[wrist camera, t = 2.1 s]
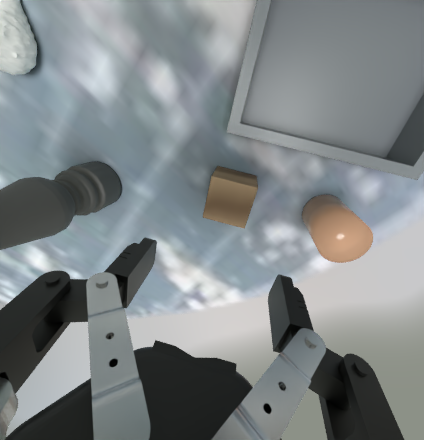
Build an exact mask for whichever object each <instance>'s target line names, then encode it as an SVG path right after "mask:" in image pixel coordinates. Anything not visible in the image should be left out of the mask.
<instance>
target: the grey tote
mask: <svg viewBox="0 0 424 440" xmlns="http://www.w3.org/2000/svg"><path fill="white" fill-rule="evenodd" d="M227 132H228V133H232V134H236V135H240V136H244V137H248V138H252V139H256V140H260V141H264V142H268V143H272V144H276V145H280V146H284V147H288V148H292V149H295V150H299V151H303V152H307V153H311V154H315V155H319V156H323V157H327V158H331V159H335V160H339V161H343V162H347V163H351V164H355V165H359V166H363V167H367V168H371V169H375V170H379V171H383V172H387V173H391V174H395V175H399V176H403V177H407V178H411V179H415V180H418V178H419V177H420V176H421V174H422V173H423V171H424V0H257V3H256V7H255V11H254V16H253V20H252V24H251V29H250V33H249V37H248V42H247V46H246V50H245V55H244V59H243V63H242V68H241V72H240V76H239V81H238V85H237V89H236V94H235V98H234V102H233V107H232V111H231V115H230V119H229V124H228V128H227Z"/></svg>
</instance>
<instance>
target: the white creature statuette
mask: <svg viewBox="0 0 424 440" xmlns="http://www.w3.org/2000/svg"><path fill="white" fill-rule="evenodd" d="M36 56H37V43H36V41H35V40H34V34H33V32H32V31H31V30H30V25H29V23H28V21H27V17H26V16H25V14H24V11H23V9H22V6H21V3H20V0H0V70H1V71H3V72H8V73H10V74H12V75H19V74H22V75H24V74H26V73H29V72H30V70H31V69H33V68H34V67H35V65H36Z"/></svg>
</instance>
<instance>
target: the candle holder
mask: <svg viewBox="0 0 424 440" xmlns="http://www.w3.org/2000/svg"><path fill="white" fill-rule="evenodd" d="M120 194H121V185H120V181H119V178H118V176H117V175H116V173H115V172H114V170H112V169H111V168H110V167H109V166H107V165H106V164H104V163H101V162H89V163H85V164H81V165H76V166H72V167H70V168H69V169H68V170H66V171H62V172H61V173H59V174H58V175H57V176H56V177H55V180H49V179H45V178H42V177H32V178H23V179H19V180H18V181H16V182H14V183H12V184H10V185H8V186H6V187H5V188H3V189H1V190H0V250H2V249H6V248H9V247H13V246H16V245H20V244H23V243H27V242H30V241H34V240H38V239H41V238H45V237H49V236H52V235H55V234H57V233H59V232H61V231H62V230H64V229H66V228H67V227H68V226H69V224H70V222H71V221H72V219H73V217H74V215H88V214H90V213H92V212H97V211H99V210H101V209H103V208H105V207H106V206H108V205H110V204H112V203H114V202H115V201H117V200H118V198H119V196H120Z"/></svg>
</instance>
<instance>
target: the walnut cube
mask: <svg viewBox="0 0 424 440" xmlns="http://www.w3.org/2000/svg"><path fill="white" fill-rule="evenodd" d="M257 190H258V184H257V176H255V175H252V174H248V173H244V172H240V171H236V170H232V169H228V168H224V167H220V166H217V168H216V169H215V171H214V173H213V175H212V177H211V181H210V186H209V190H208V195H207V199H206V204H205V208H204V213H203V218H207V219H211V220H214V221H218V222H222V223H226V224H229V225H233V226H237V227H241V228H245V226H246V223H247V220H248V217H249V214H250V211H251V208H252V205H253V202H254V199H255V196H256V193H257Z"/></svg>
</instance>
